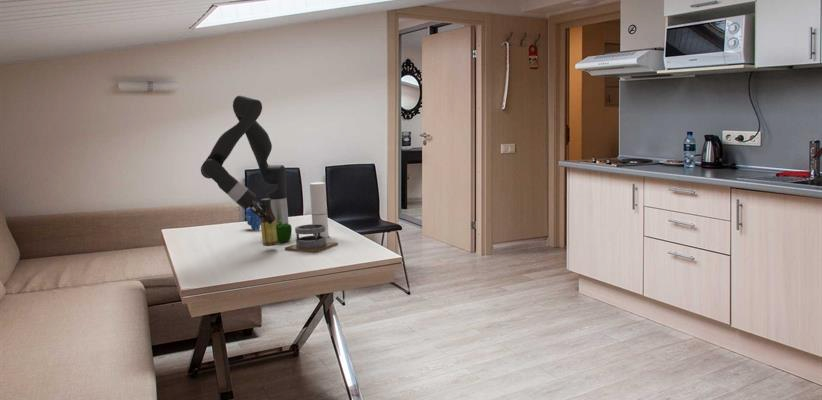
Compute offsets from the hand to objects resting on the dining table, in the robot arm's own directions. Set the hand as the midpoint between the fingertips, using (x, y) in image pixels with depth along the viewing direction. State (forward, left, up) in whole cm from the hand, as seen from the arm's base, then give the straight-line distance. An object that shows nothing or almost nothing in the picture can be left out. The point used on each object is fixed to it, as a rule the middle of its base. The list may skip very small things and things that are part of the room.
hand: (272, 220), depth 269 cm
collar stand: (+13, +9, -13) cm, 20 cm away
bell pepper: (-8, +15, -13) cm, 21 cm away
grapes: (-44, +34, -13) cm, 57 cm away
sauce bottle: (-1, -1, -11) cm, 11 cm away
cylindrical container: (+2, +30, -13) cm, 33 cm away
